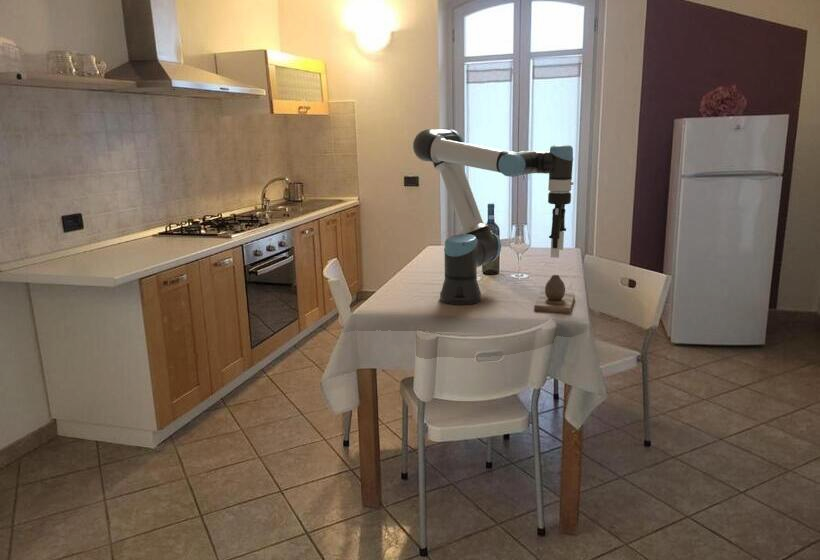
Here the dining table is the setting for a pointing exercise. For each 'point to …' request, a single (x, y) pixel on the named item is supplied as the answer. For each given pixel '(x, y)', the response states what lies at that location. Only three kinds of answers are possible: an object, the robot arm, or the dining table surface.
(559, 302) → the walnut board
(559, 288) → the vase
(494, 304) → the dining table surface
